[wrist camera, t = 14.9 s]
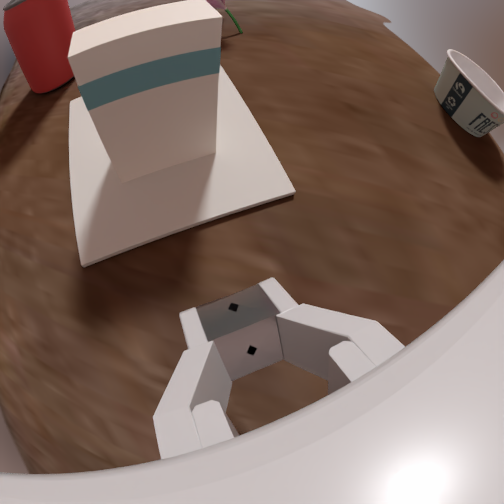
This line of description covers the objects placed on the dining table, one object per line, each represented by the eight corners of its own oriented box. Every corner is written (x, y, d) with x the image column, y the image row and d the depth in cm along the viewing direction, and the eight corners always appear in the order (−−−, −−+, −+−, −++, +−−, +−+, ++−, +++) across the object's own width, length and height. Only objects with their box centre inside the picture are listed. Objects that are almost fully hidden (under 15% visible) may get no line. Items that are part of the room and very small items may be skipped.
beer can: (23, 100, 19) (-15, 20, 8) (52, 63, 21) (27, -12, 10) (66, 92, 20) (31, -5, 8) (95, 55, 22) (75, -31, 10)
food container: (453, 83, 29) (473, 57, 23) (499, 144, 26) (525, 120, 20) (409, 75, 27) (431, 41, 21) (466, 148, 24) (499, 115, 17)
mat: (294, 194, 18) (295, 191, 18) (83, 267, 15) (81, 265, 15) (215, 61, 22) (215, 57, 22) (71, 104, 19) (70, 101, 19)
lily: (241, 14, 29) (211, -37, 21) (302, 14, 22) (270, -54, 14) (172, 58, 29) (132, 7, 21) (219, 66, 22) (168, -11, 14)
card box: (216, 153, 18) (223, 17, 9) (121, 183, 17) (67, 57, 7) (203, 123, 19) (203, -2, 9) (115, 150, 17) (72, 32, 8)
